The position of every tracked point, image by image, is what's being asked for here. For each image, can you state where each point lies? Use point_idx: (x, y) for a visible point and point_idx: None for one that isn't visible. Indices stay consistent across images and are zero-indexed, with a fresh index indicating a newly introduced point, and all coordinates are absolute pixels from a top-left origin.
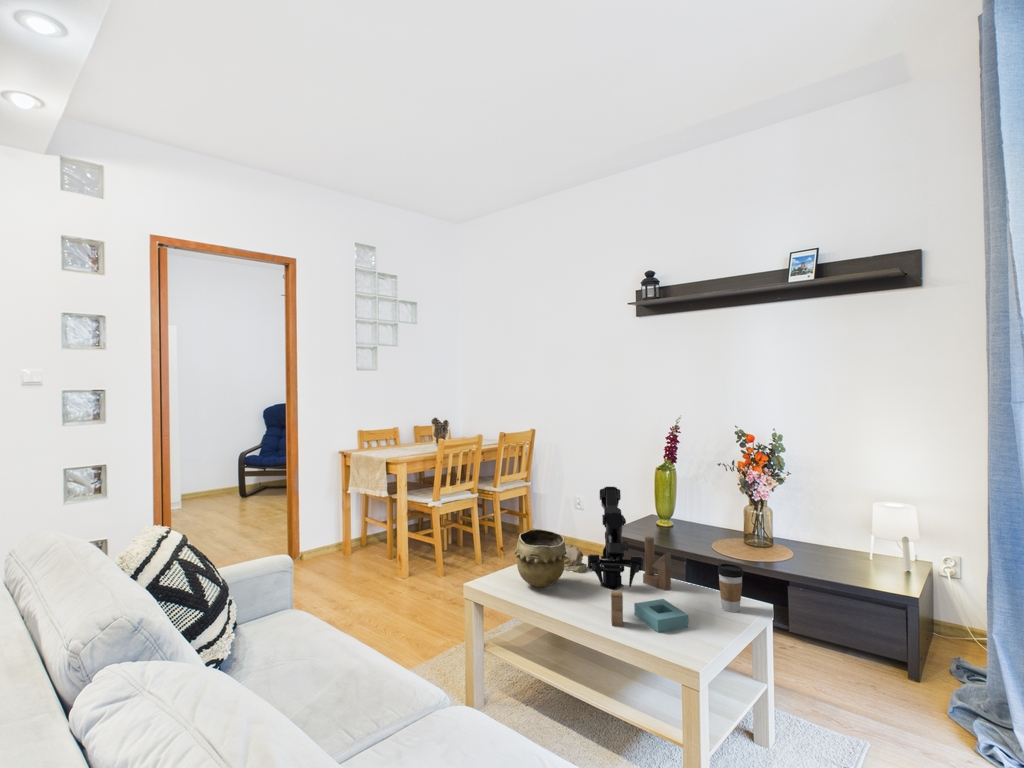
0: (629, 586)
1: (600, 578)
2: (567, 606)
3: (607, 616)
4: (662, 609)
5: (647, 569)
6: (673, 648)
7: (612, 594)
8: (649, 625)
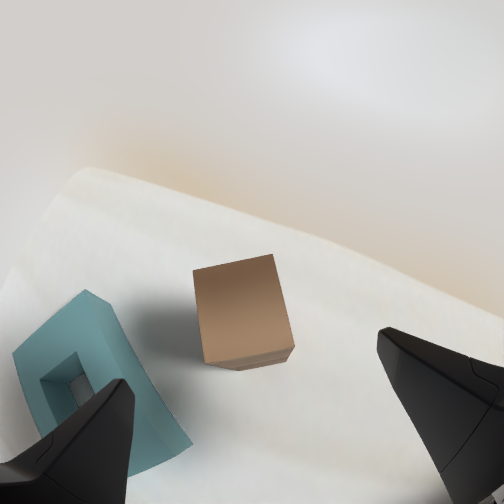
0: (134, 400)
1: (430, 346)
2: None
3: (310, 399)
4: None
5: None
6: (92, 221)
7: (271, 276)
8: (130, 348)
